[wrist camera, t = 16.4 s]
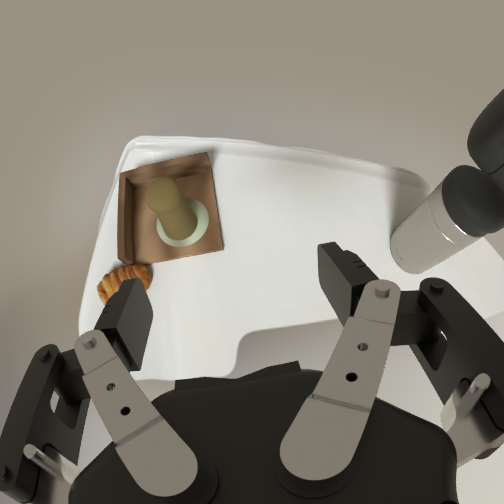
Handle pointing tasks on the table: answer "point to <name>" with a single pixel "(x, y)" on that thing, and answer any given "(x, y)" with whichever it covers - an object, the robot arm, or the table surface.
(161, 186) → the cork
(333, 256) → the robot arm
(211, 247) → the corner tray
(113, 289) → the pastry
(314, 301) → the table surface
